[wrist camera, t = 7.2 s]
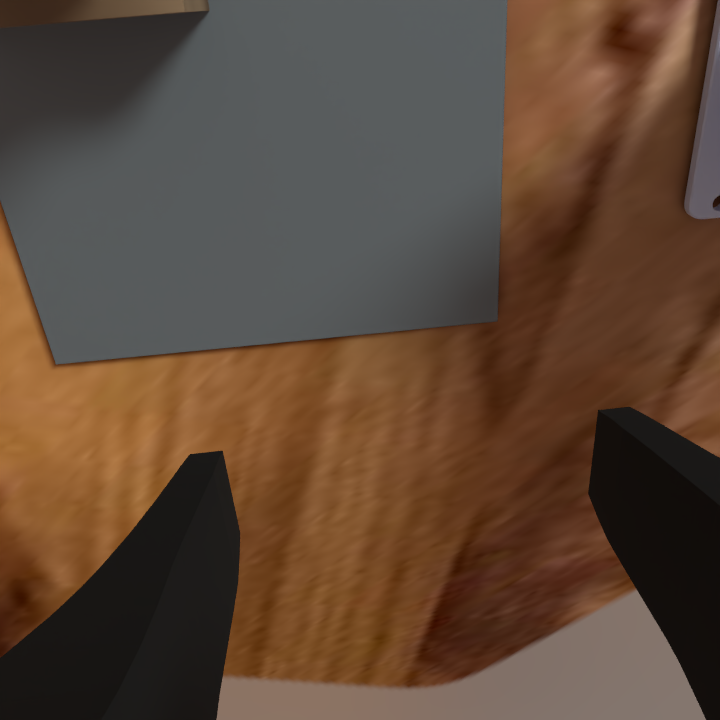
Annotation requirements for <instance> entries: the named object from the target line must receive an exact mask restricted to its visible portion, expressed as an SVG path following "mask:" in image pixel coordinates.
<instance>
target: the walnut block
mask: <svg viewBox="0 0 720 720" xmlns="http://www.w3.org/2000/svg"><path fill="white" fill-rule="evenodd" d="M199 11H210V10H209V3H208V0H0V28H7V27H19V26H31V25H43V24H55V23H67V22H79V21H91V20H103V19H115V18H127V17H139V16H151V15H163V14H175V13H187V12H199Z"/></svg>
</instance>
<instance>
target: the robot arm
mask: <svg viewBox="0 0 720 720" xmlns="http://www.w3.org/2000/svg"><path fill="white" fill-rule="evenodd" d="M719 195H720V0H718V2H717V8H716V15H715V21H714V27H713V33H712V39H711V45H710V51H709V57H708V63H707V69H706V75H705V81H704V87H703V93H702V99H701V105H700V111H699V117H698V123H697V129H696V135H695V141H694V147H693V153H692V159H691V165H690V171H689V177H688V183H687V189H686V195H685V201H684V209H685V211H686V213H687V214H689V215H690V216H692V217H694V218H696V219H711V218H720V204H719V205H718V206H717V207H714V208H713V201H714V199H715V198H716V197H717V196H719ZM588 494H589V497H590V499H591V502H592V504H593V507H594V509H595V512H596V514H597V517H598V519H599V521H600V524H601V526H602V528H603V530H604V533H605V535H606V537H607V539H608V541H609V543H610V545H611V546H612V548H613V550H614V552H615V553H616V555H617V557H618V558H619V560H620V562H621V564H622V565H623V567H624V569H625V570H626V572H627V574H628V575H629V577H630V579H631V580H632V582H633V584H634V585H635V587H636V589H637V590H638V592H639V594H640V595H641V597H642V599H643V600H644V602H645V604H646V605H647V607H648V609H649V610H650V612H651V614H652V615H653V617H654V619H655V620H656V622H657V624H658V625H659V627H660V629H661V631H662V632H663V634H664V636H665V637H666V639H667V640H668V642H669V644H670V646H671V648H672V650H673V652H674V653H675V655H676V657H677V659H678V661H679V663H680V665H681V667H682V669H683V671H684V673H685V675H686V677H687V679H688V682H689V684H690V686H691V688H692V690H693V692H694V695H695V697H696V699H697V701H698V703H699V705H700V707H701V709H702V712H703V714H704V716H705V718H706V720H720V458H719V457H717V456H715V455H714V454H712V453H710V452H708V451H706V450H705V449H703V448H701V447H700V446H698V445H696V444H694V443H693V442H691V441H689V440H687V439H686V438H684V437H682V436H681V435H679V434H677V433H676V432H674V431H672V430H670V429H669V428H667V427H665V426H664V425H662V424H660V423H658V422H657V421H655V420H653V419H651V418H650V417H648V416H646V415H644V414H642V413H640V412H639V411H637V410H635V409H633V408H631V407H624V408H615V409H605V410H598V416H597V424H596V433H595V441H594V450H593V458H592V467H591V475H590V484H589V492H588ZM239 552H240V530H239V525H238V521H237V516H236V511H235V507H234V502H233V497H232V493H231V488H230V483H229V479H228V474H227V469H226V465H225V460H224V455H223V451H216V452H207V453H198V454H190V455H189V456H188V457H187V459H186V460H185V461H184V462H183V464H182V465H181V466H180V468H179V469H178V471H177V472H176V473H175V475H174V476H173V477H172V479H171V480H170V482H169V483H168V484H167V486H166V487H165V488H164V490H163V491H162V492H161V494H160V495H159V497H158V498H157V499H156V501H155V502H154V503H153V505H152V506H151V507H150V508H149V510H148V511H147V512H146V513H145V515H144V516H143V517H142V519H141V520H140V521H139V522H138V524H137V525H136V526H135V527H134V529H133V530H132V531H131V532H130V534H129V535H128V536H127V537H126V538H125V540H124V541H123V542H122V543H121V544H120V545H119V546H118V548H117V549H116V550H115V551H114V552H113V553H112V554H111V556H110V557H109V558H108V559H107V560H106V561H105V562H104V564H103V565H102V566H101V567H100V568H99V569H98V570H97V571H96V572H95V573H94V574H93V576H92V577H91V578H90V579H89V580H88V581H87V582H86V583H85V584H84V585H83V586H82V587H81V588H80V589H79V590H78V591H77V592H76V593H75V594H74V595H73V596H71V597H70V598H69V599H68V600H67V601H66V602H65V603H64V604H63V605H62V606H61V607H60V608H59V609H58V610H57V611H56V612H54V613H53V614H52V615H51V616H50V617H49V618H48V619H46V620H45V621H44V622H43V623H42V624H40V625H39V626H38V627H37V628H36V629H35V630H33V631H32V632H31V633H30V634H29V635H27V636H26V637H25V638H24V639H23V640H21V641H20V642H19V643H18V644H17V645H16V646H14V647H13V648H12V649H11V650H10V651H8V652H7V653H6V654H5V655H3V656H2V657H1V658H0V720H216V718H217V710H218V702H219V694H220V688H221V682H222V677H223V671H224V665H225V659H226V653H227V647H228V641H229V635H230V629H231V623H232V617H233V611H234V605H235V599H236V593H237V586H238V575H239Z"/></svg>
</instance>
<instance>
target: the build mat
mask: <svg viewBox="0 0 720 720" xmlns="http://www.w3.org/2000/svg"><path fill="white" fill-rule="evenodd" d="M208 3H209V10H210V11H199V12H187V13H175V14H163V15H151V16H139V17H127V18H115V19H103V20H91V21H79V22H67V23H55V24H43V25H31V26H19V27H7V28H0V201H1V204H2V207H3V210H4V213H5V216H6V219H7V222H8V225H9V228H10V231H11V233H12V236H13V239H14V242H15V245H16V248H17V251H18V254H19V257H20V260H21V263H22V266H23V269H24V272H25V275H26V278H27V281H28V283H29V286H30V289H31V292H32V295H33V298H34V301H35V304H36V307H37V310H38V313H39V316H40V319H41V322H42V325H43V328H44V331H45V333H46V336H47V339H48V342H49V345H50V348H51V351H52V354H53V357H54V360H55V363H56V364H65V363H76V362H86V361H96V360H106V359H117V358H127V357H137V356H147V355H158V354H168V353H178V352H188V351H199V350H209V349H219V348H230V347H240V346H250V345H260V344H271V343H281V342H291V341H301V340H312V339H322V338H332V337H342V336H353V335H363V334H373V333H383V332H394V331H404V330H414V329H424V328H435V327H445V326H455V325H465V324H476V323H486V322H496V321H498V289H499V256H500V223H501V190H502V157H503V124H504V91H505V58H506V25H507V0H208Z"/></svg>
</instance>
